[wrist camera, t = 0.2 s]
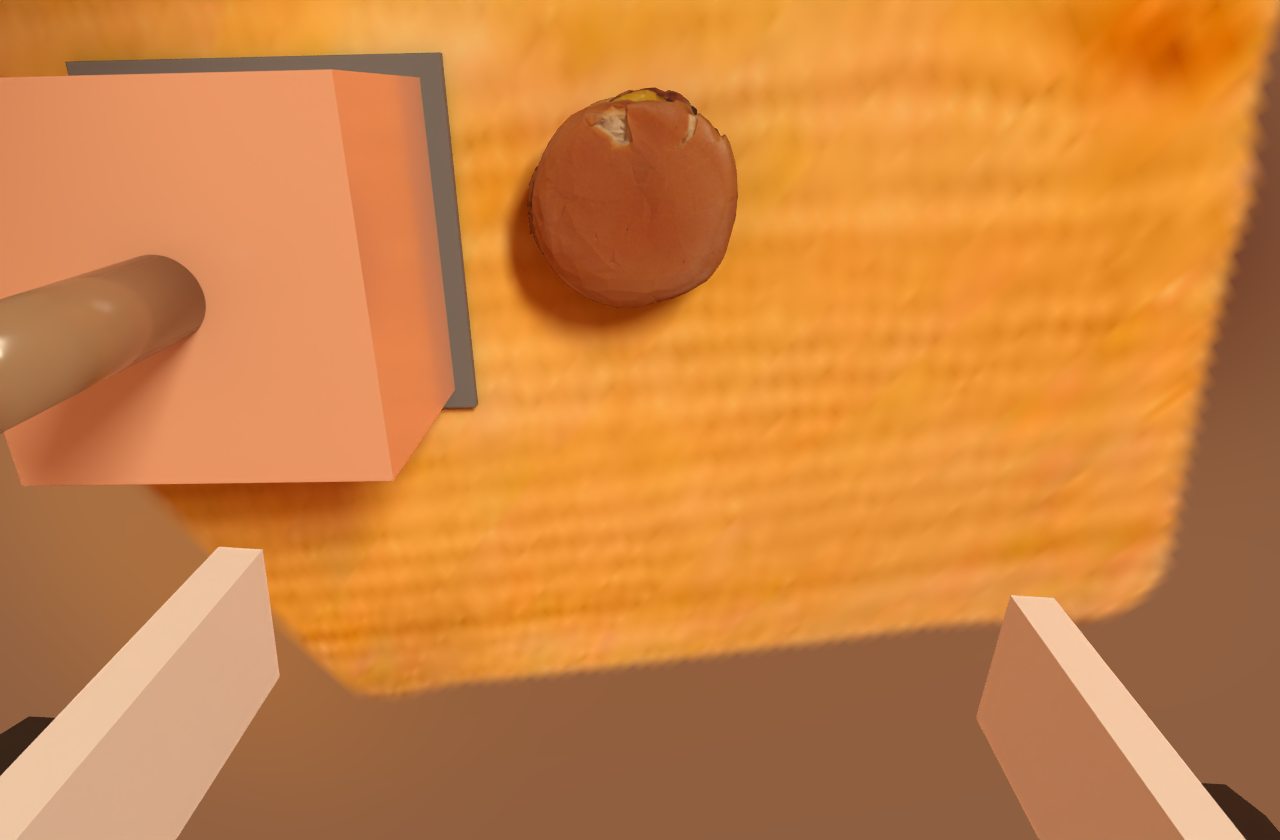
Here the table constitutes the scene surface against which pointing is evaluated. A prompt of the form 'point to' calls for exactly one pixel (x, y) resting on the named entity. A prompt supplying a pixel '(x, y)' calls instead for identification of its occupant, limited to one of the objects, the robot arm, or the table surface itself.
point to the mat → (438, 151)
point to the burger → (634, 199)
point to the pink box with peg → (218, 278)
